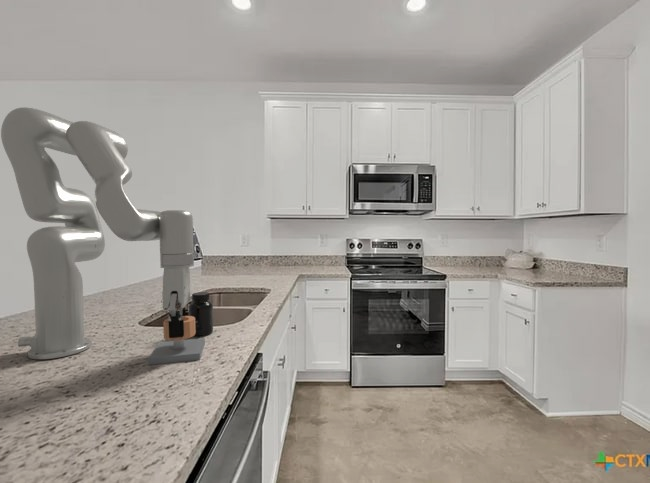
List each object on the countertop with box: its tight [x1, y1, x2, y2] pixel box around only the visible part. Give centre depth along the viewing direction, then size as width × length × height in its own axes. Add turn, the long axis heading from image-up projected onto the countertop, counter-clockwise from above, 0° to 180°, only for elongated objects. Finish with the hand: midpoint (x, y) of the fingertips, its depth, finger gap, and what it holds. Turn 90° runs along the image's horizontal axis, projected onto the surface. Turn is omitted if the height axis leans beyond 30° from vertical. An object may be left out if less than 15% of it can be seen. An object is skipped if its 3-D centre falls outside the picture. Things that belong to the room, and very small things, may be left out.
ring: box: [162, 316, 196, 341], centre depth 80 cm, size 7×7×4 cm
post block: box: [147, 338, 206, 366], centre depth 80 cm, size 11×11×8 cm
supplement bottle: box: [188, 291, 214, 338], centre depth 95 cm, size 7×7×12 cm
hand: (179, 331), depth 80 cm, fingers closed on ring, 7 cm apart
